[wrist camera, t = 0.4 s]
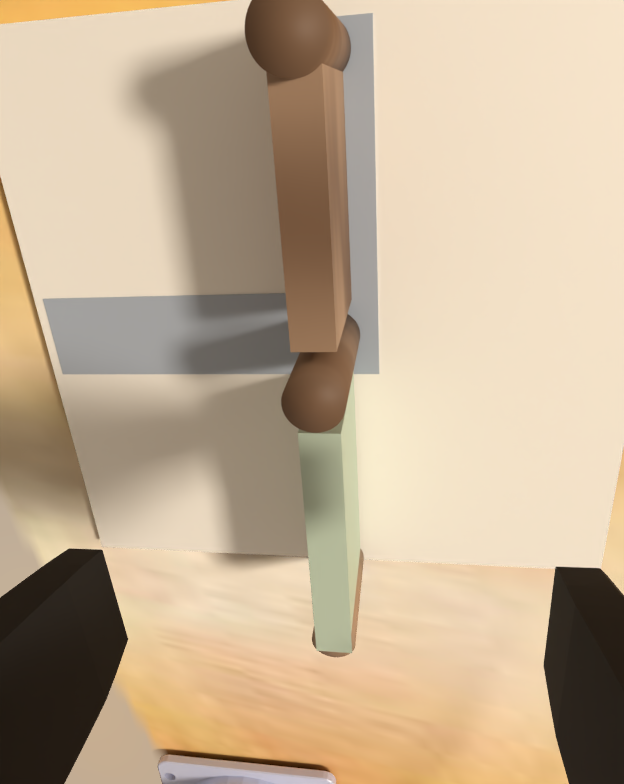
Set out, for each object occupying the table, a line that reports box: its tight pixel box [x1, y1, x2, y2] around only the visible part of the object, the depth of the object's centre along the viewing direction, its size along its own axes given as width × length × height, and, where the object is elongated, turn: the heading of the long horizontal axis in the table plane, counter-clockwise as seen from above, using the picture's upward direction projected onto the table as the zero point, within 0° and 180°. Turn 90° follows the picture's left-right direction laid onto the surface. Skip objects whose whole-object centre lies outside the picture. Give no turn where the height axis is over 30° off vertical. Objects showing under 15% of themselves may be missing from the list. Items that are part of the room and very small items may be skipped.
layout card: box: [0, 0, 624, 569], centre depth 17 cm, size 16×17×1 cm
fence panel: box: [298, 371, 364, 657], centre depth 17 cm, size 7×1×4 cm, turn 4°
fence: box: [245, 0, 360, 433], centre depth 13 cm, size 8×1×4 cm, turn 4°
